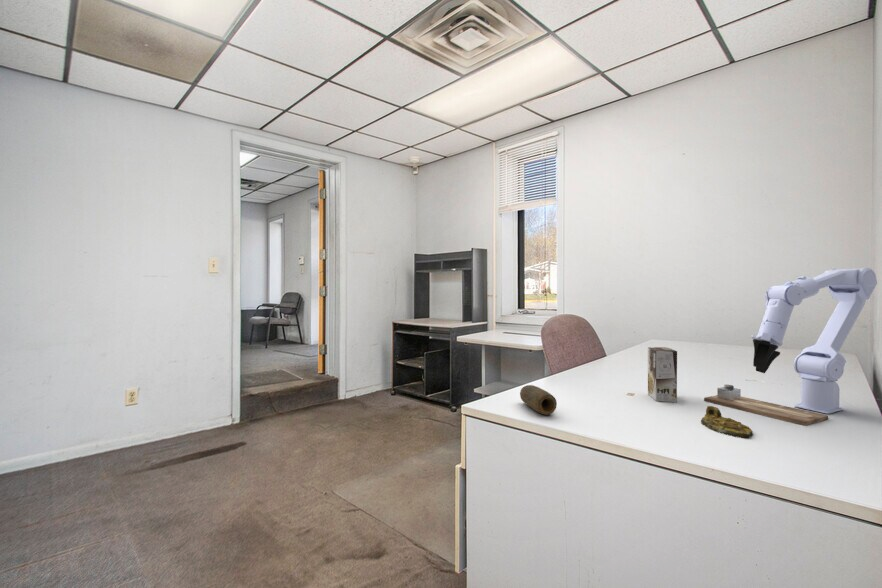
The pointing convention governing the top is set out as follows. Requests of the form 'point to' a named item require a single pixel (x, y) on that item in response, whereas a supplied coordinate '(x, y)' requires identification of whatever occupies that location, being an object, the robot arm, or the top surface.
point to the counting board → (770, 410)
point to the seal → (724, 424)
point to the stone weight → (538, 399)
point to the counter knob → (729, 393)
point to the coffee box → (662, 374)
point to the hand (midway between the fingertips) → (759, 369)
